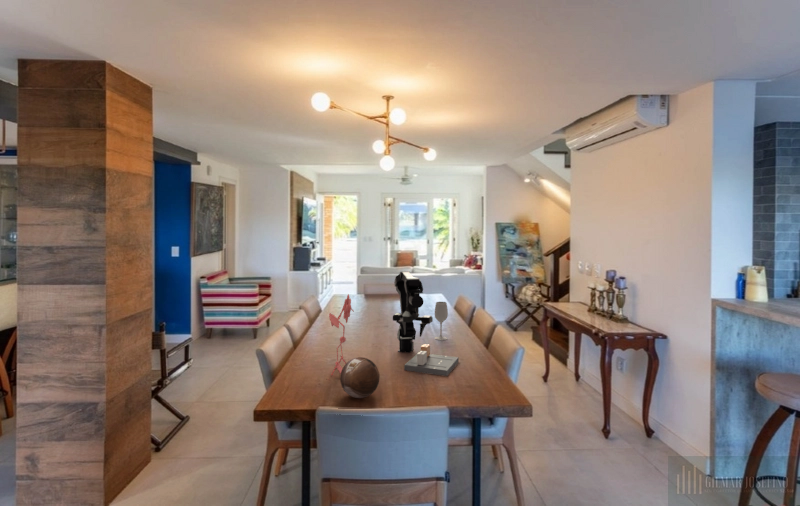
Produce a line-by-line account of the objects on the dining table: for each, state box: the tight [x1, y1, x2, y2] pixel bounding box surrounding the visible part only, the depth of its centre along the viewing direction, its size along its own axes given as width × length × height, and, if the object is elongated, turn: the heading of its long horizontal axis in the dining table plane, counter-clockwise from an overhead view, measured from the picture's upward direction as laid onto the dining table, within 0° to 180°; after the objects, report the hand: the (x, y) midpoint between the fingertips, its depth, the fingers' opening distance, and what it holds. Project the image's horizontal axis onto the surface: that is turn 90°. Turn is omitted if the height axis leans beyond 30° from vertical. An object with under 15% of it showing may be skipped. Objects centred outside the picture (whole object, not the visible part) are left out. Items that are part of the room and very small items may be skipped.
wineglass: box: [434, 301, 449, 341], centre depth 249 cm, size 8×8×21 cm
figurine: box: [327, 293, 355, 381], centre depth 192 cm, size 15×26×35 cm, turn 175°
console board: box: [403, 353, 460, 377], centre depth 202 cm, size 20×20×3 cm
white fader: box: [416, 350, 427, 365], centre depth 197 cm, size 3×5×5 cm, turn 158°
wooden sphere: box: [339, 356, 381, 399], centre depth 166 cm, size 15×15×15 cm
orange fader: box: [420, 343, 431, 357], centre depth 208 cm, size 3×5×5 cm, turn 158°
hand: (412, 335), depth 210 cm, fingers open, 8 cm apart
